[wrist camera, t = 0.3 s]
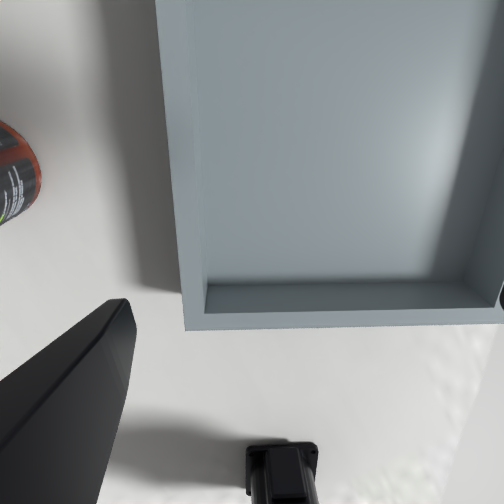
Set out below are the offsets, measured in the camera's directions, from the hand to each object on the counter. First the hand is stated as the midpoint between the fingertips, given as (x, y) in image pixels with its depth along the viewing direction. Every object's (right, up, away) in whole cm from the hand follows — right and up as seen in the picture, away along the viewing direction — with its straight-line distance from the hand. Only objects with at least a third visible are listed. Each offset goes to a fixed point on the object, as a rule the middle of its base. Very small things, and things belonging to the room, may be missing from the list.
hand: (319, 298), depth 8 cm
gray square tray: (+4, +7, +13) cm, 15 cm away
